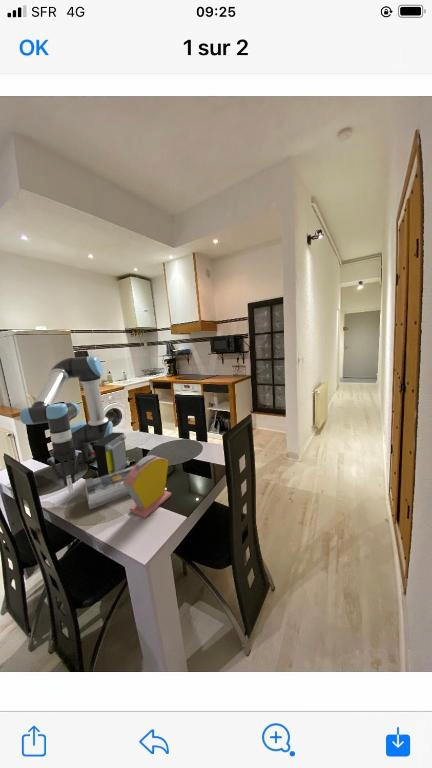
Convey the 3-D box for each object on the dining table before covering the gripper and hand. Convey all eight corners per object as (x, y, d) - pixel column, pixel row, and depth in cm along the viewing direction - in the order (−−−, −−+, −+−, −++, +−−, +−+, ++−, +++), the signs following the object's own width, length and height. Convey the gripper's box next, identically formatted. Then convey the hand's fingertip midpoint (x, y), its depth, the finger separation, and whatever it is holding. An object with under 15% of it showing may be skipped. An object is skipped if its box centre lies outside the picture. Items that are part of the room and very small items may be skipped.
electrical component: (113, 481, 129) (108, 445, 126) (96, 480, 132) (90, 445, 128) (131, 464, 146) (126, 432, 143) (115, 464, 148) (111, 432, 145)
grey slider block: (86, 488, 117) (85, 479, 116) (100, 484, 120) (99, 475, 119) (88, 496, 111) (86, 486, 110) (102, 491, 114) (101, 482, 113)
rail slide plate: (86, 494, 120) (83, 480, 119) (139, 475, 134) (138, 463, 132) (89, 509, 108) (87, 495, 107) (148, 487, 122) (146, 474, 121)
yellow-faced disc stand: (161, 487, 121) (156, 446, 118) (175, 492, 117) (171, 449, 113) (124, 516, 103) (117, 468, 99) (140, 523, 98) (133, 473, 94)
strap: (101, 482, 120) (101, 479, 119) (134, 473, 128) (134, 469, 128) (103, 489, 114) (103, 485, 114) (137, 478, 123) (137, 475, 122)
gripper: (42, 447, 99) (53, 500, 103) (80, 438, 106) (88, 489, 110) (43, 441, 105) (53, 492, 109) (79, 433, 112) (86, 481, 116)
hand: (71, 490), depth 109 cm, fingers closed
